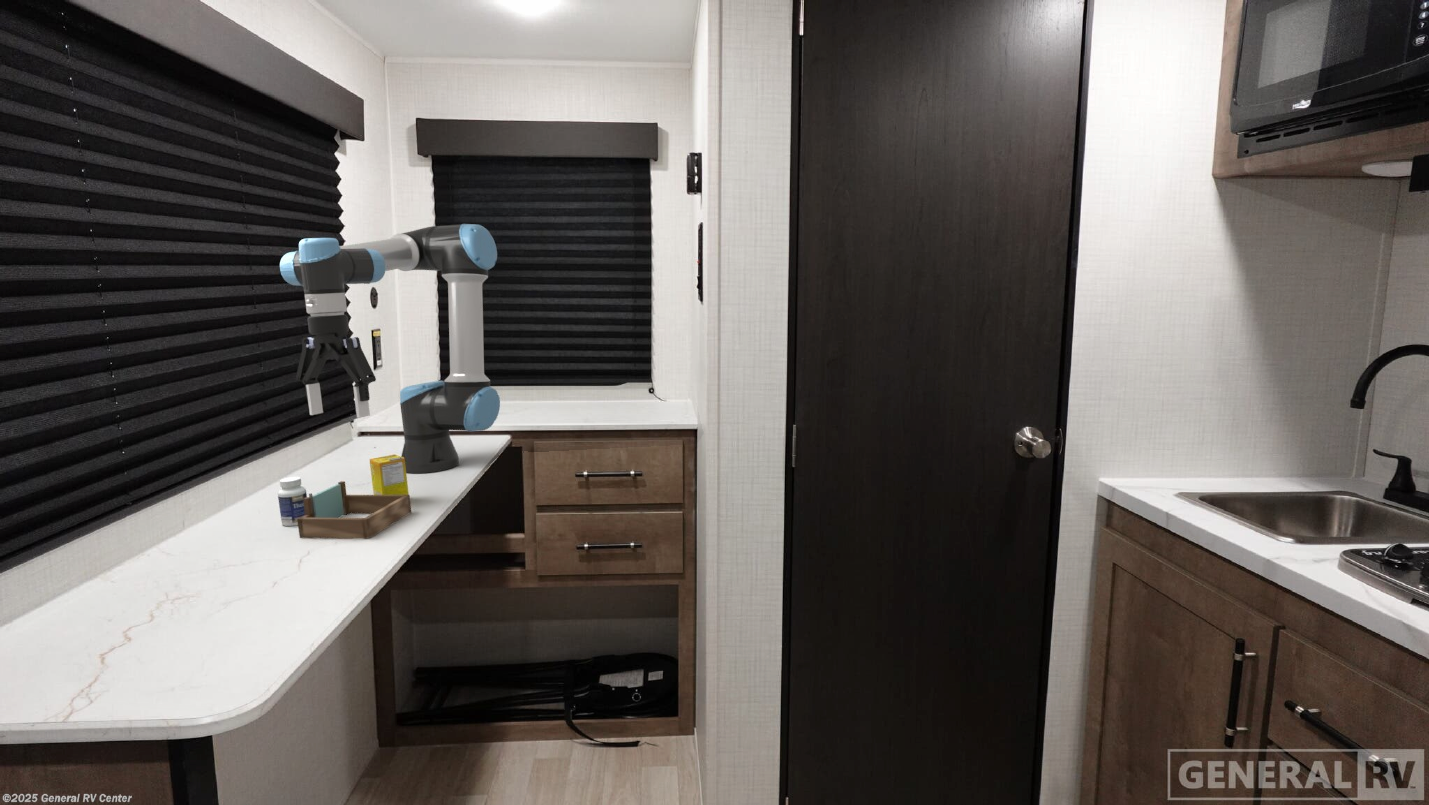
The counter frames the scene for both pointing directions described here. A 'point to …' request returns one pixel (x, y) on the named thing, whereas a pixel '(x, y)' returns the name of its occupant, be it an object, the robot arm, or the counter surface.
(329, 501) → the teal rectangular panel
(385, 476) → the supplement box
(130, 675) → the counter surface
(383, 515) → the wooden square frame
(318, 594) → the counter surface
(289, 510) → the pill bottle
